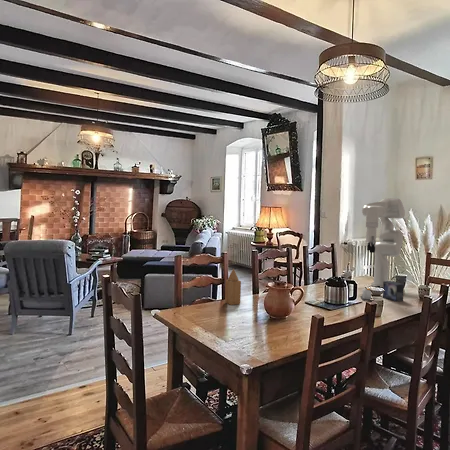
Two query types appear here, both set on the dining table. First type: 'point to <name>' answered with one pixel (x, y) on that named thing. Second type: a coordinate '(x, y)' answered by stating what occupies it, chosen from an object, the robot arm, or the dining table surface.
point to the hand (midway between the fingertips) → (370, 251)
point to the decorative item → (233, 289)
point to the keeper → (363, 298)
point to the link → (366, 294)
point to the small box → (393, 291)
